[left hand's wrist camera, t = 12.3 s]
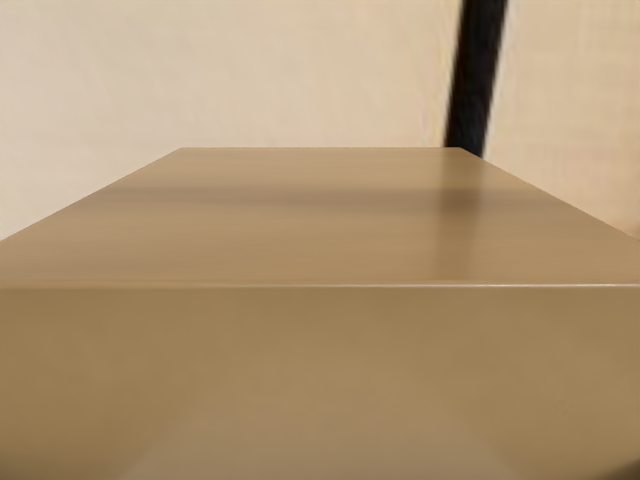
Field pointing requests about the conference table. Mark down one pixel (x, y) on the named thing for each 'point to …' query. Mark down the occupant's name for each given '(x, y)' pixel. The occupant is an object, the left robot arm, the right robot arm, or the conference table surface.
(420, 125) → the conference table surface
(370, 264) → the box
